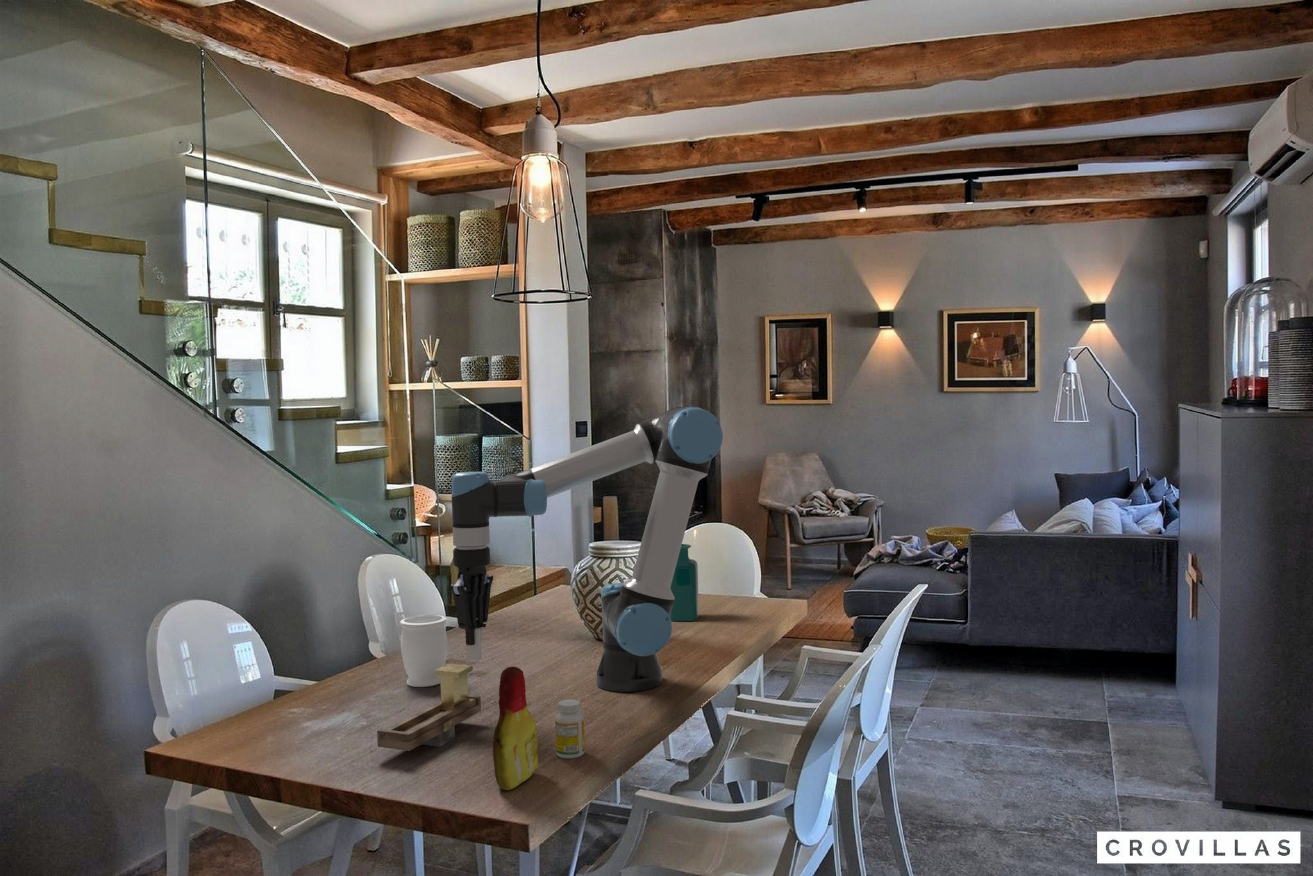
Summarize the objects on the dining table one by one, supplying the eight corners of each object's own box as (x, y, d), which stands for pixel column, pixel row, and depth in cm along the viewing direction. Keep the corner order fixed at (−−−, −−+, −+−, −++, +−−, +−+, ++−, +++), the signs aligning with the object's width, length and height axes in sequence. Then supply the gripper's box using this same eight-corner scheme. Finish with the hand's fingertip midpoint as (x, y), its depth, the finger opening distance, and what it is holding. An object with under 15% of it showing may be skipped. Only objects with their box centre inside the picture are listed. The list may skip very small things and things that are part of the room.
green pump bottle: (671, 615, 298) (669, 541, 297) (699, 615, 296) (697, 541, 295) (667, 622, 288) (665, 547, 287) (696, 622, 287) (694, 546, 286)
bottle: (516, 797, 165) (512, 677, 164) (482, 793, 167) (477, 675, 166) (546, 770, 176) (542, 658, 175) (513, 767, 178) (509, 656, 177)
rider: (450, 702, 204) (448, 663, 204) (473, 704, 202) (472, 665, 202) (436, 709, 199) (434, 670, 199) (459, 712, 197) (458, 672, 197)
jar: (456, 678, 237) (454, 615, 236) (433, 690, 227) (431, 625, 226) (418, 675, 240) (415, 613, 239) (393, 687, 230) (390, 623, 230)
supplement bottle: (570, 761, 180) (568, 709, 180) (549, 755, 184) (548, 703, 183) (591, 752, 185) (589, 701, 184) (570, 746, 188) (569, 696, 188)
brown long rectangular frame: (451, 719, 206) (450, 693, 206) (482, 723, 203) (481, 696, 203) (377, 759, 184) (376, 730, 184) (410, 764, 181) (409, 734, 181)
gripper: (473, 541, 214) (475, 650, 215) (437, 550, 202) (440, 665, 203) (503, 542, 211) (505, 653, 212) (469, 552, 199) (472, 669, 200)
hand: (474, 659), depth 208 cm, fingers closed
